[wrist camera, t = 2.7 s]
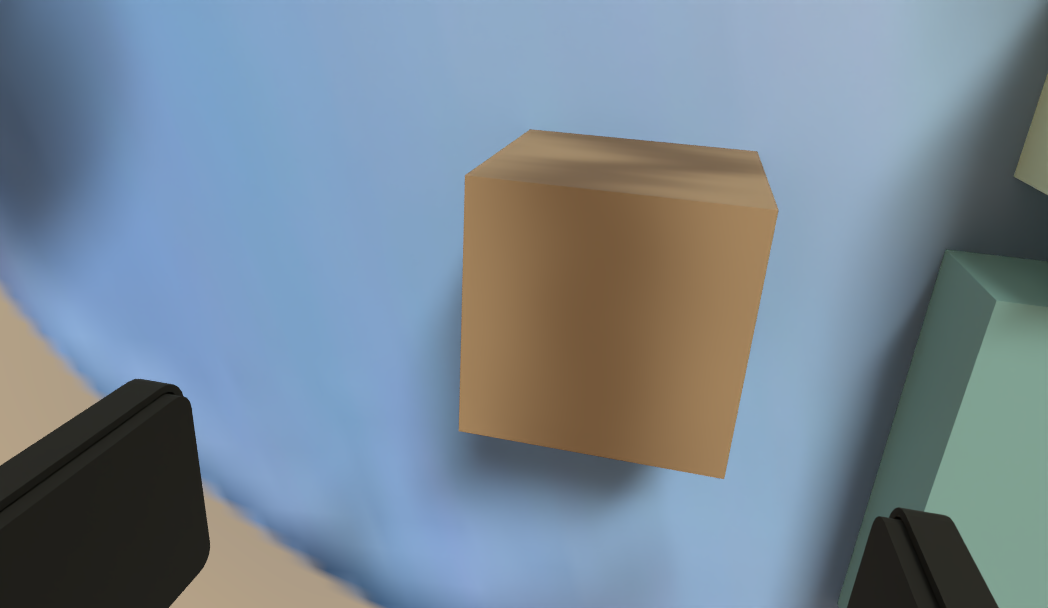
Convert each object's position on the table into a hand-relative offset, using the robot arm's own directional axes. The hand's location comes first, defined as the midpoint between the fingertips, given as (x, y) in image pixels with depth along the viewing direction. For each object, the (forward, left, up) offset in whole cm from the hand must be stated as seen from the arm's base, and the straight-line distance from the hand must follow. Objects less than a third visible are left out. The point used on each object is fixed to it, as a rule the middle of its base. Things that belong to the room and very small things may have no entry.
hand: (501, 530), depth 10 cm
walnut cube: (-1, 0, -12) cm, 12 cm away
